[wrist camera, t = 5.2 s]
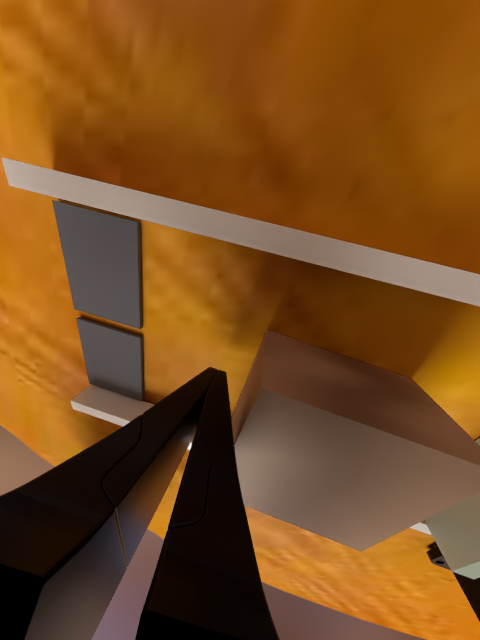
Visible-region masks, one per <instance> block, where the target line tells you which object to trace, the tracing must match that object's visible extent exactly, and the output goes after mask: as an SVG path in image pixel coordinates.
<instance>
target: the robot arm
mask: <svg viewBox="0 0 480 640" xmlns="http://www.w3.org/2000/svg"><path fill="white" fill-rule="evenodd" d="M194 434H195V435H194ZM193 436H194V438H193ZM192 438H193V442H192V445H191V449H190V452H189V456H188V459H187V463H186V466H185V470H184V473H183V477H182V480H181V484H180V487H179V491H178V494H177V498H176V501H175V505H174V508H173V512H172V515H171V519H170V522H169V526H168V531H167V533H166V536H165V539H164V543H163V547H162V550H161V553H160V556H159V560H158V563H157V566H156V570H155V573H154V576H153V579H152V582H151V586H150V589H149V592H148V595H147V598H146V601H145V604H144V607H143V610H142V613H141V617H140V621H139V626H138V630H137V635H136V639H135V640H280V639H279V636H278V634H277V631H276V628H275V625H274V623H273V620H272V617H271V614H270V610H269V607H268V604H267V600H266V597H265V594H264V590H263V586H262V582H261V578H260V574H259V570H258V566H257V562H256V557H255V553H254V548H253V544H252V539H251V534H250V530H249V525H248V521H247V516H246V512H245V507H244V503H243V498H242V493H241V487H240V482H239V477H238V470H237V463H236V455H235V447H234V438H233V429H232V420H231V411H230V402H229V393H228V384H227V375H226V372H225V371H221V370H217V369H215V368H212V367H209V368H207V369H206V370H204V371H203V372H201V373H200V374H199V375H197V376H196V377H194V378H193V379H191V380H190V381H188V382H187V383H186V384H184V385H183V386H181V387H180V388H178V389H177V390H175V391H174V392H173V393H171V394H170V395H168V396H167V397H165V398H164V399H162V400H161V401H160V402H158V403H157V404H155V405H154V406H152V407H151V408H149V409H148V410H147V411H145V412H144V413H143V415H139V416H138V417H136V418H135V419H133V420H132V421H131V422H129V423H128V424H126V425H125V426H123V427H121V428H120V429H118V430H117V431H115V432H114V433H112V434H111V435H109V436H107V437H106V438H104V439H102V440H101V441H99V442H97V443H96V444H94V445H92V446H91V447H89V448H87V449H85V450H84V451H82V452H80V453H78V454H77V455H75V456H73V457H72V458H70V459H68V460H66V461H65V462H63V463H61V464H59V465H58V466H56V467H54V468H53V469H51V470H49V471H47V472H46V473H44V474H42V475H40V476H39V477H37V478H35V479H34V480H32V481H30V482H28V483H26V484H24V485H22V486H21V487H18V488H16V489H14V490H12V491H10V492H8V493H6V494H3V495H1V496H0V640H91V639H92V637H93V635H94V633H95V631H96V629H97V627H98V625H99V623H100V621H101V619H102V617H103V615H104V613H105V611H106V609H107V607H108V605H109V603H110V601H111V599H112V597H113V595H114V593H115V591H116V589H117V587H118V585H119V583H120V581H121V579H122V577H123V575H124V573H125V571H126V569H127V567H128V565H129V563H130V561H131V559H132V557H133V555H134V553H135V551H136V549H137V547H138V545H139V543H140V541H141V539H142V537H143V535H144V533H145V531H146V530H147V528H148V526H149V524H150V522H151V520H152V518H153V516H154V514H155V512H156V510H157V508H158V506H159V504H160V502H161V500H162V498H163V496H164V494H165V492H166V490H167V488H168V486H169V484H170V482H171V480H172V478H173V476H174V474H175V472H176V470H177V468H178V466H179V464H180V462H181V460H182V458H183V456H184V454H185V452H186V450H187V448H188V446H189V444H190V442H191V440H192ZM427 554H428V556H429V558H430V560H431V562H432V563H433V564H435V565H438V566H441V567H444V568H446V569H449V570H451V569H450V568H449V566H448V564H447V562H446V560H445V558H444V556H443V555H442V553H441V551H440V549H439V547H435V548H433V549H431V550H429V551H427ZM453 573H454V575H455V577H456V579H457V581H458V583H459V584H460V586H461V588H462V590H463V592H464V594H465V595H466V597H467V599H468V601H469V603H470V605H471V607H472V608H473V610H474V612H475V614H476V616H477V618H478V619H479V621H480V578H477V579H471V578H469V577H466V576H463V575H460V574H458V573H455V572H453Z"/></svg>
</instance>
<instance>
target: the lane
mask: <svg viewBox="0 0 480 640" xmlns="http://www.w3.org/2000/svg"><path fill="white" fill-rule="evenodd" d="M1 158H2V157H1ZM2 162H3V165H4V169H5V172H6V176H7V179H8V183H9V186H13V187H17V188H21V189H25V190H28V191H32V192H36V193H40V194H44V195H48V196H52V197H56V198H60V199H63V200H67V201H71V202H75V203H79V204H83V205H87V206H91V207H95V208H98V209H102V210H106V211H110V212H114V213H118V214H122V215H126V216H130V217H133V218H137V219H141V220H145V221H149V222H153V223H157V224H161V225H165V226H168V227H172V228H176V229H180V230H184V231H188V232H192V233H196V234H200V235H203V236H207V237H211V238H215V239H219V240H223V241H227V242H231V243H235V244H238V245H242V246H246V247H250V248H254V249H258V250H262V251H266V252H270V253H273V254H277V255H281V256H285V257H289V258H293V259H297V260H301V261H305V262H308V263H312V264H316V265H320V266H324V267H328V268H332V269H336V270H340V271H343V272H347V273H351V274H355V275H359V276H363V277H367V278H371V279H375V280H378V281H382V282H386V283H390V284H394V285H398V286H402V287H406V288H410V289H413V290H417V291H421V292H425V293H429V294H433V295H437V296H441V297H445V298H448V299H452V300H456V301H460V302H464V303H468V304H472V305H476V306H480V274H476V273H472V272H468V271H464V270H460V269H456V268H452V267H448V266H444V265H440V264H436V263H432V262H427V261H423V260H419V259H415V258H411V257H407V256H403V255H399V254H395V253H391V252H387V251H382V250H378V249H374V248H370V247H366V246H362V245H358V244H354V243H350V242H346V241H342V240H338V239H333V238H329V237H325V236H321V235H317V234H313V233H309V232H305V231H301V230H297V229H293V228H288V227H284V226H280V225H276V224H272V223H268V222H264V221H260V220H256V219H252V218H248V217H244V216H239V215H235V214H231V213H227V212H223V211H219V210H215V209H211V208H207V207H203V206H199V205H194V204H190V203H186V202H182V201H178V200H174V199H170V198H166V197H162V196H158V195H154V194H149V193H145V192H141V191H137V190H133V189H129V188H125V187H121V186H117V185H113V184H109V183H105V182H100V181H96V180H92V179H88V178H84V177H80V176H76V175H72V174H68V173H64V172H60V171H55V170H51V169H47V168H43V167H39V166H35V165H31V164H27V163H23V162H19V161H15V160H11V159H6V158H2ZM71 404H72V408H73V409H74V410H77V411H80V412H83V413H86V414H89V415H91V416H94V417H97V418H100V419H103V420H106V421H108V422H111V423H114V424H117V425H120V426H125V425H126V424H128V423H129V422H131V421H132V420H133V419H135V418H136V417H138V416H139V415H143V413H144V412H145V411H147V410H148V409H149V408H151V407H152V406H154V404H151V403H148V402H145V401H139V400H136V399H133V398H130V397H127V396H124V395H121V394H118V393H116V392H113V391H110V390H107V389H104V388H101V387H98V386H95V385H90V386H89V387H88V388H86V389H85V390H84V391H83V392H81V393H80V394H79V395H77V396H76V397H75V398H73V399H72V400H71ZM194 435H195V434H194ZM193 438H194V436H193ZM193 438H192V440H191V442H190V444H189V446H188V448H187V449H188V450H190V449H191V445H192V442H193ZM475 442H476V443H477V444H478V445H479V446H480V438H479V439H477V440H476V441H475ZM409 528H412V529H415V530H418V531H421V532H423V533H426V534H429V535H432V536H433V538H434V540H435V542H436V544H437V545H438V547H439V549H440V551H441V553H442V555H443V556H444V558H445V560H446V562H447V564H448V566H449V568H450V569H451V571H452V572H455V573H458V574H460V575H463V576H466V577H469V578H471V579H477V578H480V492H479V493H477V494H475V495H473V496H471V497H469V498H467V499H465V500H463V501H461V502H459V503H457V504H455V505H453V506H451V507H449V508H447V509H445V510H443V511H441V512H439V513H437V514H435V515H433V516H431V517H429V518H427V519H425V520H423V521H421V522H419V523H417V524H415V525H413V526H411V527H409Z"/></svg>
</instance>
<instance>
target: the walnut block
mask: <svg viewBox="0 0 480 640" xmlns="http://www.w3.org/2000/svg"><path fill="white" fill-rule="evenodd" d="M231 420H232V429H233V438H234V447H235V455H236V463H237V470H238V477H239V482H240V487H241V493H242V498H243V503H244V506H247V507H249V508H252V509H254V510H257V511H259V512H262V513H264V514H267V515H270V516H272V517H275V518H277V519H280V520H282V521H285V522H287V523H290V524H293V525H295V526H298V527H300V528H303V529H305V530H308V531H310V532H313V533H315V534H318V535H321V536H323V537H326V538H328V539H331V540H333V541H336V542H338V543H341V544H343V545H346V546H349V547H351V548H354V549H356V550H359V551H363V550H365V549H367V548H369V547H371V546H373V545H375V544H377V543H379V542H381V541H383V540H385V539H387V538H389V537H391V536H393V535H395V534H397V533H399V532H401V531H403V530H405V529H407V528H409V527H411V526H413V525H415V524H417V523H419V522H421V521H423V520H425V519H427V518H429V517H431V516H433V515H435V514H437V513H439V512H441V511H443V510H445V509H447V508H449V507H451V506H453V505H455V504H457V503H459V502H461V501H463V500H465V499H467V498H469V497H471V496H473V495H475V494H477V493H479V492H480V446H479V445H478V444H477V443H476V442H475V441H474V440H473V439H472V438H471V437H470V436H469V435H468V434H467V433H466V432H465V431H464V430H463V429H462V428H461V427H460V426H459V425H458V424H457V423H456V422H455V421H454V420H453V419H452V418H451V417H450V416H449V415H448V414H447V413H446V412H445V411H444V410H443V409H442V408H441V407H440V406H439V405H438V404H437V403H436V402H435V401H434V400H433V399H432V398H431V397H430V396H429V395H428V394H427V393H426V392H425V391H424V390H423V389H422V388H421V387H420V386H419V385H418V384H417V383H416V382H415V381H414V380H412V379H411V378H409V377H406V376H403V375H400V374H397V373H394V372H391V371H388V370H385V369H382V368H379V367H376V366H373V365H370V364H367V363H364V362H361V361H358V360H355V359H352V358H349V357H346V356H344V355H341V354H338V353H335V352H332V351H329V350H326V349H323V348H320V347H317V346H314V345H311V344H308V343H305V342H302V341H299V340H296V339H293V338H290V337H287V336H284V335H281V334H279V333H276V332H273V331H270V330H266V332H265V335H264V337H263V340H262V342H261V345H260V347H259V350H258V352H257V355H256V357H255V360H254V362H253V365H252V367H251V370H250V372H249V375H248V377H247V380H246V382H245V385H244V388H243V390H242V393H241V395H240V398H239V400H238V403H237V405H236V408H235V410H234V413H233V415H232V418H231Z"/></svg>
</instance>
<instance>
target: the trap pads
mask: <svg viewBox="0 0 480 640" xmlns="http://www.w3.org/2000/svg"><path fill="white" fill-rule="evenodd" d="M52 201H53V200H52ZM53 206H54V211H55V216H56V221H57V226H58V231H59V236H60V241H61V245H62V250H63V255H64V260H65V265H66V270H67V275H68V280H69V285H70V290H71V295H72V300H73V305H74V309H76V310H79V311H82V312H86V313H89V314H92V315H95V316H99V317H102V318H105V319H109V320H112V321H115V322H118V323H122V324H125V325H128V326H131V327H135V328H138V329H141V328H142V278H141V227H140V223H139V222H135V221H131V220H128V219H124V218H120V217H116V216H112V215H108V214H104V213H100V212H97V211H93V210H89V209H85V208H81V207H77V206H73V205H70V204H66V203H62V202H58V201H53ZM76 319H77V324H78V329H79V334H80V339H81V344H82V349H83V354H84V359H85V364H86V369H87V373H88V378H89V383H90V384H92V385H95V386H98V387H101V388H104V389H107V390H110V391H113V392H116V393H118V394H121V395H124V396H127V397H130V398H133V399H136V400H139V401H143V400H144V380H143V337H142V336H139V335H136V334H133V333H129V332H126V331H123V330H120V329H116V328H113V327H110V326H107V325H104V324H100V323H97V322H94V321H91V320H87V319H84V318H81V317H79V318H76Z"/></svg>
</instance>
